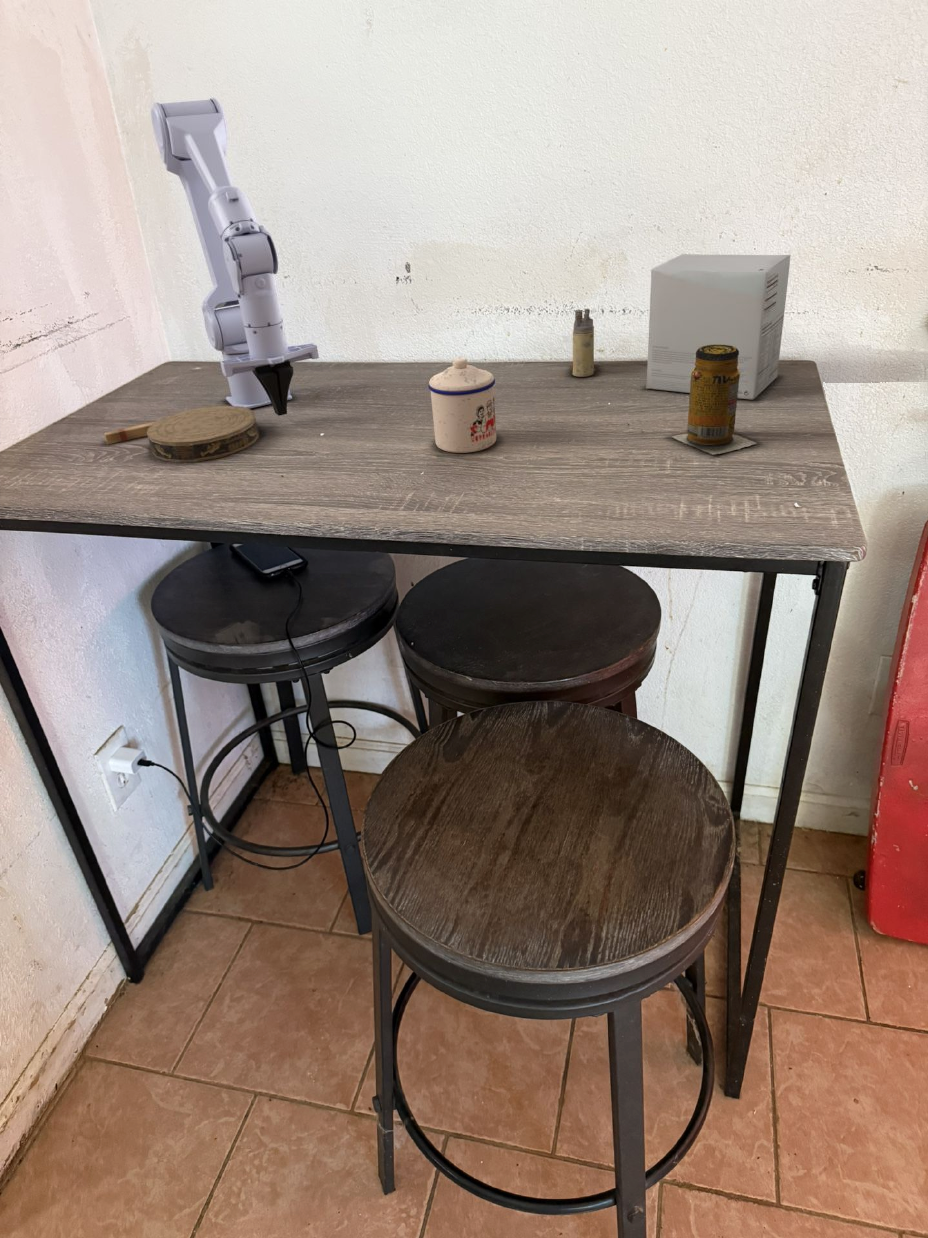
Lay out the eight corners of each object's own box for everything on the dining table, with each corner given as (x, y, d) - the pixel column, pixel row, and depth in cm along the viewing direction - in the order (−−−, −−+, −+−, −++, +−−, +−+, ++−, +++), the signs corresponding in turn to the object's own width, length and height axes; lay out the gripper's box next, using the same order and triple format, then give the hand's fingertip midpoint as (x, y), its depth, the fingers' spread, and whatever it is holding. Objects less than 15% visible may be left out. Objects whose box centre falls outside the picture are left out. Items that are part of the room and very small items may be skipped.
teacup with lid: (482, 457, 114) (476, 370, 107) (422, 451, 117) (414, 367, 111) (515, 427, 123) (512, 346, 116) (459, 422, 126) (453, 343, 120)
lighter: (574, 365, 147) (573, 305, 141) (596, 364, 146) (596, 304, 141) (572, 377, 141) (571, 316, 136) (595, 377, 140) (595, 315, 135)
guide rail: (220, 416, 137) (218, 407, 137) (222, 418, 136) (220, 409, 136) (106, 442, 131) (103, 432, 130) (108, 444, 130) (105, 435, 129)
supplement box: (779, 376, 133) (794, 253, 124) (754, 401, 124) (769, 271, 115) (674, 366, 142) (681, 251, 132) (643, 389, 133) (648, 267, 123)
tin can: (180, 470, 118) (174, 450, 116) (135, 445, 128) (129, 426, 127) (278, 438, 126) (274, 419, 125) (228, 417, 137) (224, 399, 135)
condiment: (713, 426, 117) (721, 338, 110) (757, 444, 110) (767, 351, 104) (671, 438, 114) (676, 348, 108) (712, 457, 108) (720, 362, 101)
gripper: (221, 337, 118) (242, 430, 125) (319, 318, 123) (333, 409, 130) (209, 328, 123) (230, 418, 130) (303, 311, 129) (318, 398, 136)
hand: (281, 413), depth 131 cm, fingers closed
